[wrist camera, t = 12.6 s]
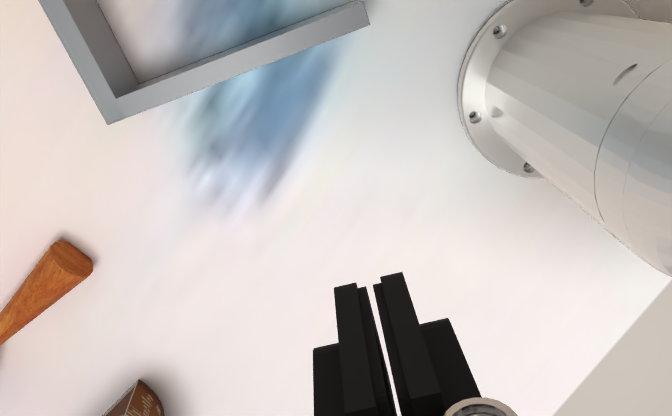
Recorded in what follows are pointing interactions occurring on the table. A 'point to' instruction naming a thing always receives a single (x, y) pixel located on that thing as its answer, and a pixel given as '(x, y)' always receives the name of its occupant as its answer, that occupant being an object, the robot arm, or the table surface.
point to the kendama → (45, 286)
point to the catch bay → (132, 98)
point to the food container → (137, 402)
